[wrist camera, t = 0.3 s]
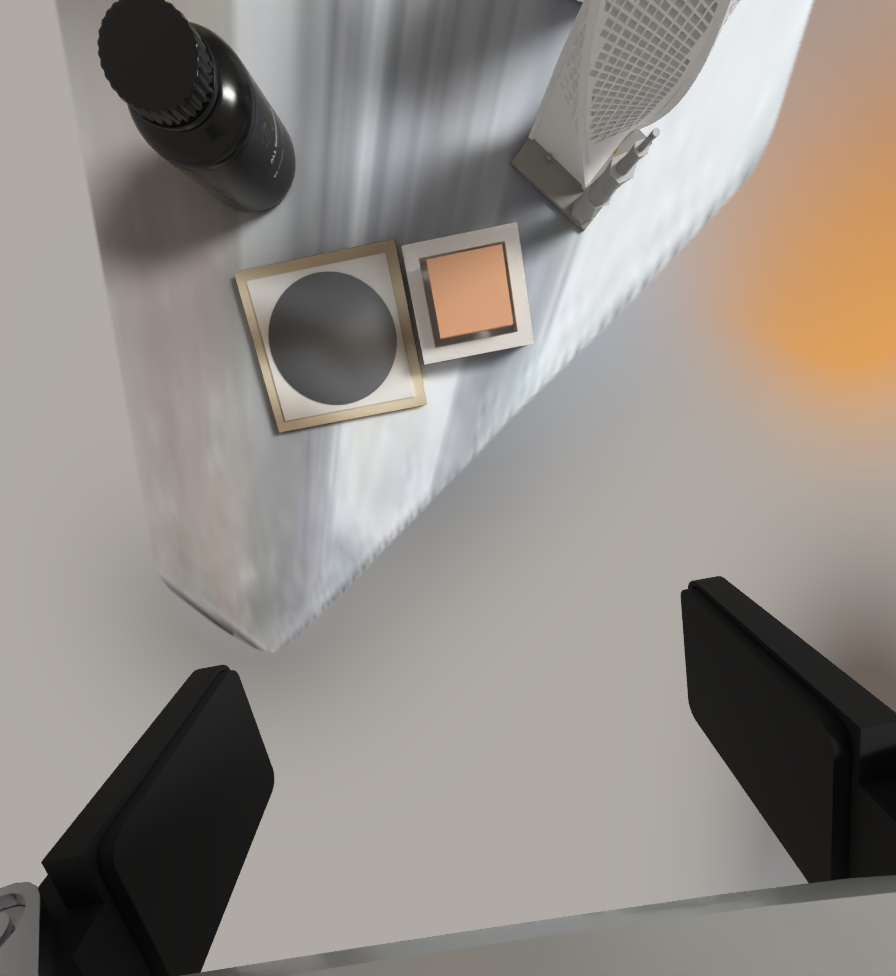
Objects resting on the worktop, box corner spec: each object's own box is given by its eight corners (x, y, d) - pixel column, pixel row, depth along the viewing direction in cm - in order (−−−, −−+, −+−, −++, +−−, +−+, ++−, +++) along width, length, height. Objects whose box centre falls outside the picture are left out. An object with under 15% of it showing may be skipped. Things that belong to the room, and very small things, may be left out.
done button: (427, 265, 33) (426, 259, 31) (498, 250, 33) (501, 243, 31) (440, 339, 34) (440, 338, 32) (509, 326, 34) (513, 324, 32)
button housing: (404, 254, 35) (401, 245, 32) (511, 233, 35) (517, 221, 32) (425, 364, 37) (424, 364, 35) (526, 344, 37) (533, 343, 34)
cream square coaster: (238, 274, 36) (232, 271, 35) (395, 241, 35) (393, 238, 34) (282, 431, 39) (277, 433, 38) (427, 403, 38) (426, 404, 37)
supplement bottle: (317, 179, 34) (252, 87, 22) (240, 233, 35) (140, 171, 23) (259, 81, 33) (157, -72, 21) (180, 140, 33) (40, 24, 22)
